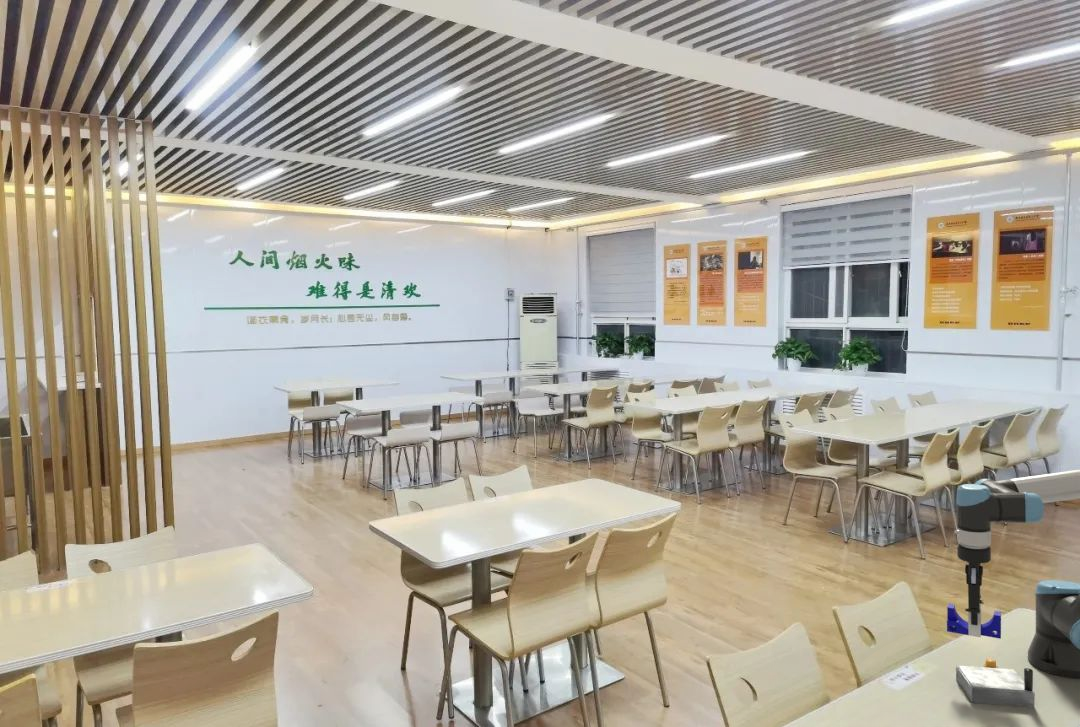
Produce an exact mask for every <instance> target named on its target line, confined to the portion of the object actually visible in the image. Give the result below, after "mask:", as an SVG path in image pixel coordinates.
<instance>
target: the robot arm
mask: <svg viewBox="0 0 1080 727" xmlns="http://www.w3.org/2000/svg"><path fill="white" fill-rule="evenodd" d="M1079 499H1080V469H1073V470H1065V471H1061V472H1052V473H1046V474H1039V475H1031V476H1025V477H1016V478H1011V479H1010V478H1009V479H1002V480H994V479H990V478H981V479H979V480H977V481H976V482H975V483H966V484H962V485H959V486H958V487H957V489H956V501H955V504H956V522H957V523H956V525H957V526H956V528H957V530H956V529H955V530H954V532H953V533H954V534H955V535H957V536H956V537H957V538H956V539H957V540H956V541H957V542H958V543H957V545H956V546H957V548H956V549H957V550H956V551H957V554H956V555H957V558H958V559H959V560H960V561H963V562H966V563H965V566H964V567H965V568H964V570H965V571H964V573H965V575H966V577H965V578H966V580H965V581H966V582H965V583H966V585H967V598H968V600H967V602H968V606H967V607H968V608H965V612H968V613H967V616H968V617H967V620H968V621H967V622H968V634H969V635H968V637H969V636H971V637H975V638H981V637H982V635H981V624H982V605H984V599H982V596H981V586H982V584H983V583H982V582H983V576H984V575H983V574H984V566H983V565H981V564H987V563H989V562H990V561H991V560H992V549H991V547H990V546H991V545H992V535H991V534H992V532H991V531H992V529H991V523H993V524H995V523H997V524H998V523H1001V524H1002V523H1005V524H1006V523H1008V524H1009V523H1012V524H1013V523H1016V524H1017V523H1019V524H1024V523H1025V524H1029V523H1031V524H1032V523H1038V522H1040V521H1042V519H1043V518H1044V515H1045V508H1044V507H1045V505H1044V504H1047V503H1055V502H1063V501H1064V502H1065V501H1071V500H1079ZM1035 588H1036V589H1035V592H1034V593H1035V633H1034V635H1033V637H1032V640H1031V641H1030V644H1029V647H1028V648H1027V661H1028V662H1029V663H1030V664H1031V665H1032V666H1033V667H1035V668H1037V669H1038V670H1041V671H1043V672H1046V673H1049V674H1052V675H1054V676H1055V675H1056V676H1059V677H1066V678H1071V679H1072V678H1074V679H1080V583H1077V582H1071V581H1066V580H1054V579H1053V580H1052V579H1051V580H1041V581H1039V582H1038V583H1037V584H1036V587H1035Z"/></svg>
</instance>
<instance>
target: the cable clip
mask: <svg viewBox="0 0 1080 727" xmlns="http://www.w3.org/2000/svg"><path fill="white" fill-rule="evenodd" d="M946 609H947V611H946V612H947V619H946V632H947V633H954V634H957V635H958V634H960V635H966V636H969V634H968V621H966V620H965V619H963V618H962V617H961V616H960V614H958V612H957V610H956V605H955V603H948V604H947V608H946ZM982 636H983V637H989V638H994V639H1001V638H1002V611H998V610H994V611H993V615H992V616H991V619H990V620H988V621H987V622H985V623H981V637H982Z"/></svg>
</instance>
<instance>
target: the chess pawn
mask: <svg viewBox="0 0 1080 727" xmlns="http://www.w3.org/2000/svg"><path fill="white" fill-rule="evenodd" d="M982 667H986V668H999V666H998V665H997V661H996V660H995V659H993V658H985V663H983V666H982Z"/></svg>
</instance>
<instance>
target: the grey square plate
mask: <svg viewBox="0 0 1080 727" xmlns="http://www.w3.org/2000/svg"><path fill="white" fill-rule="evenodd" d="M955 680H956V681H957V683H958V684H959V686H960V687H961V688H962V690H963V691H964V693H965V694H966V696H967V698H968V699H969V700H970V702H971V703H974V704H983V705H984V704H987V705H998V706H1013V707H1021V708H1022V707H1025V708H1035V704H1036V703H1035V702H1036V699H1035V696H1036V695H1035V692H1034V691H1033V689H1034V688H1033V687H1034V681H1033V680H1034V671H1033V669H1032V668H1028V667H1027V668H1026V667H1025V668H1024V669H1023V677H1022V676H1020V674H1019V673H1018V672H1017V671H1016V670H1015V669H1013V668H1010V669H1009V668H1000V667H998V668H986V667H983V666H973V665H972V666H971V665H956V666H955Z"/></svg>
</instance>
